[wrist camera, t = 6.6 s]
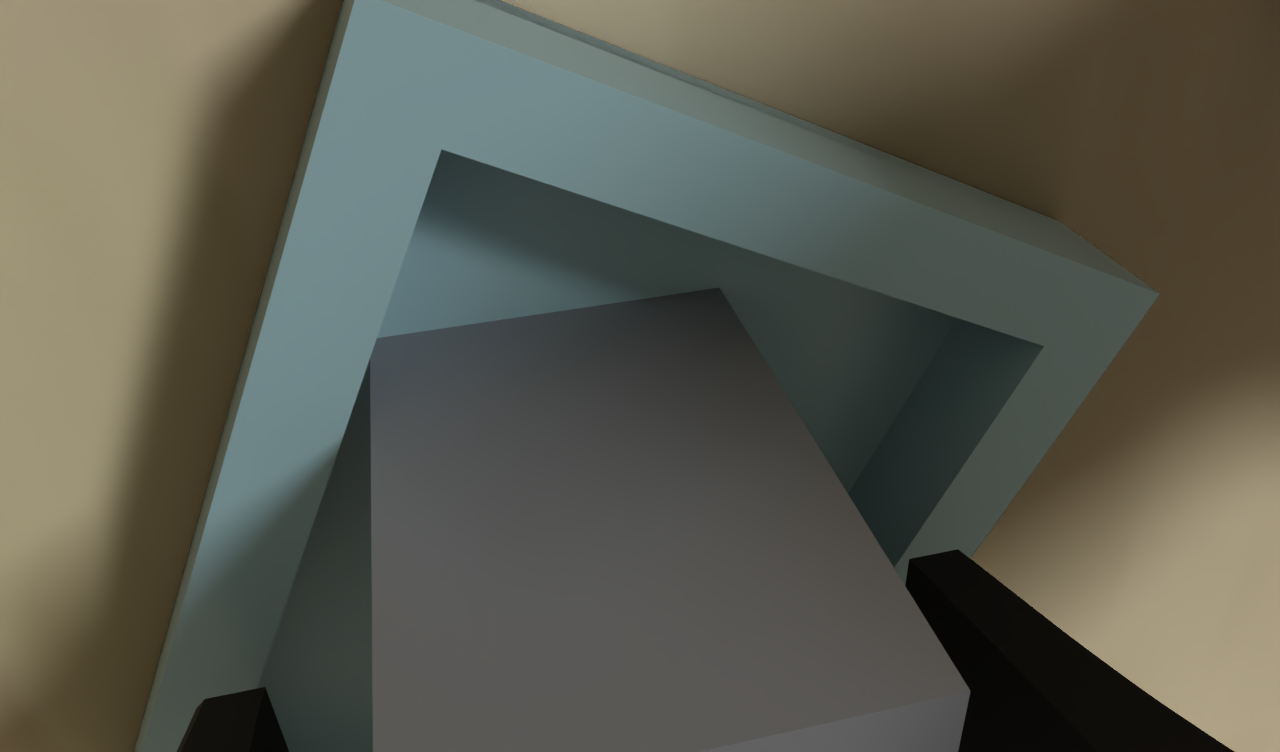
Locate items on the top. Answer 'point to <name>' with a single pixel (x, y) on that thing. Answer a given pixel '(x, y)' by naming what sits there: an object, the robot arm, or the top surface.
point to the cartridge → (627, 550)
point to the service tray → (597, 275)
